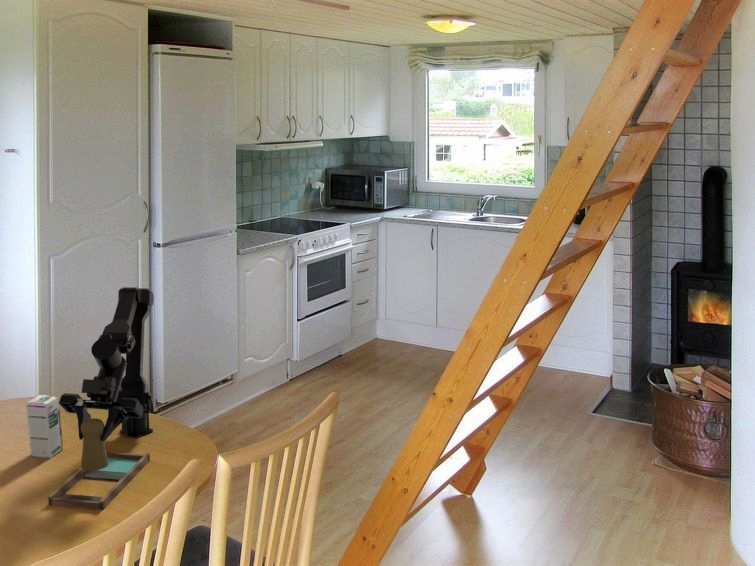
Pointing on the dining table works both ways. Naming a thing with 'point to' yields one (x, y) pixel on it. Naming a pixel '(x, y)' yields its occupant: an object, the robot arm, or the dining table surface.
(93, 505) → the channel
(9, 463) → the dining table surface
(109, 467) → the pad
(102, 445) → the cork
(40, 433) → the syrup box
